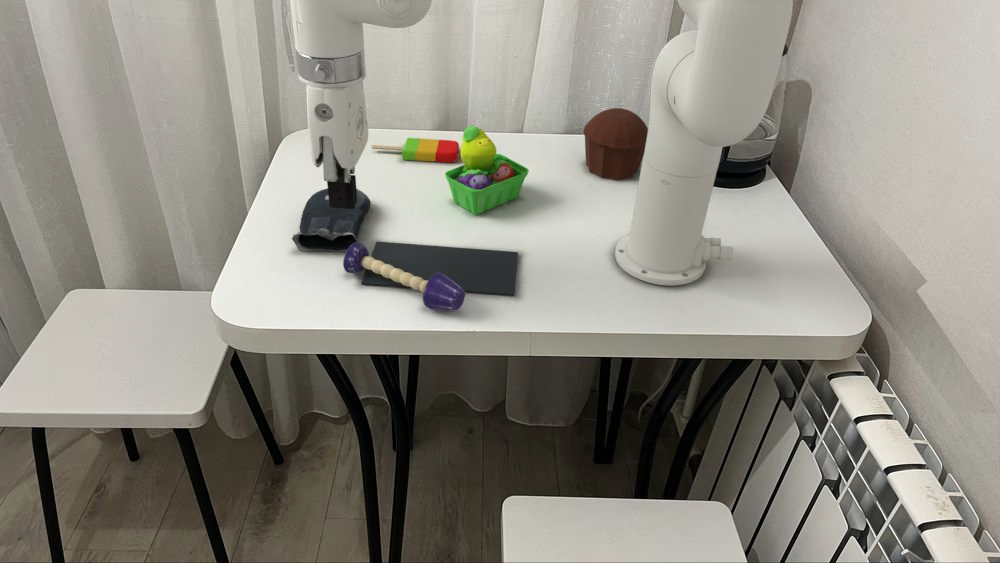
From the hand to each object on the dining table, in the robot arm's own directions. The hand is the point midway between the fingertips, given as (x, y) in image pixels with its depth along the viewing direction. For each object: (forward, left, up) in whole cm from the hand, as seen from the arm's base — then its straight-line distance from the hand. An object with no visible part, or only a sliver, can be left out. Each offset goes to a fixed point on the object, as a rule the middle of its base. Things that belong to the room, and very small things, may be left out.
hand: (343, 205), depth 95 cm
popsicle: (-4, -35, -10) cm, 36 cm away
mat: (-13, -1, -9) cm, 16 cm away
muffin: (-38, -35, -10) cm, 52 cm away
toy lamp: (-1, +1, -7) cm, 7 cm away
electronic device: (+4, -10, -10) cm, 15 cm away
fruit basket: (-17, -21, -10) cm, 28 cm away
